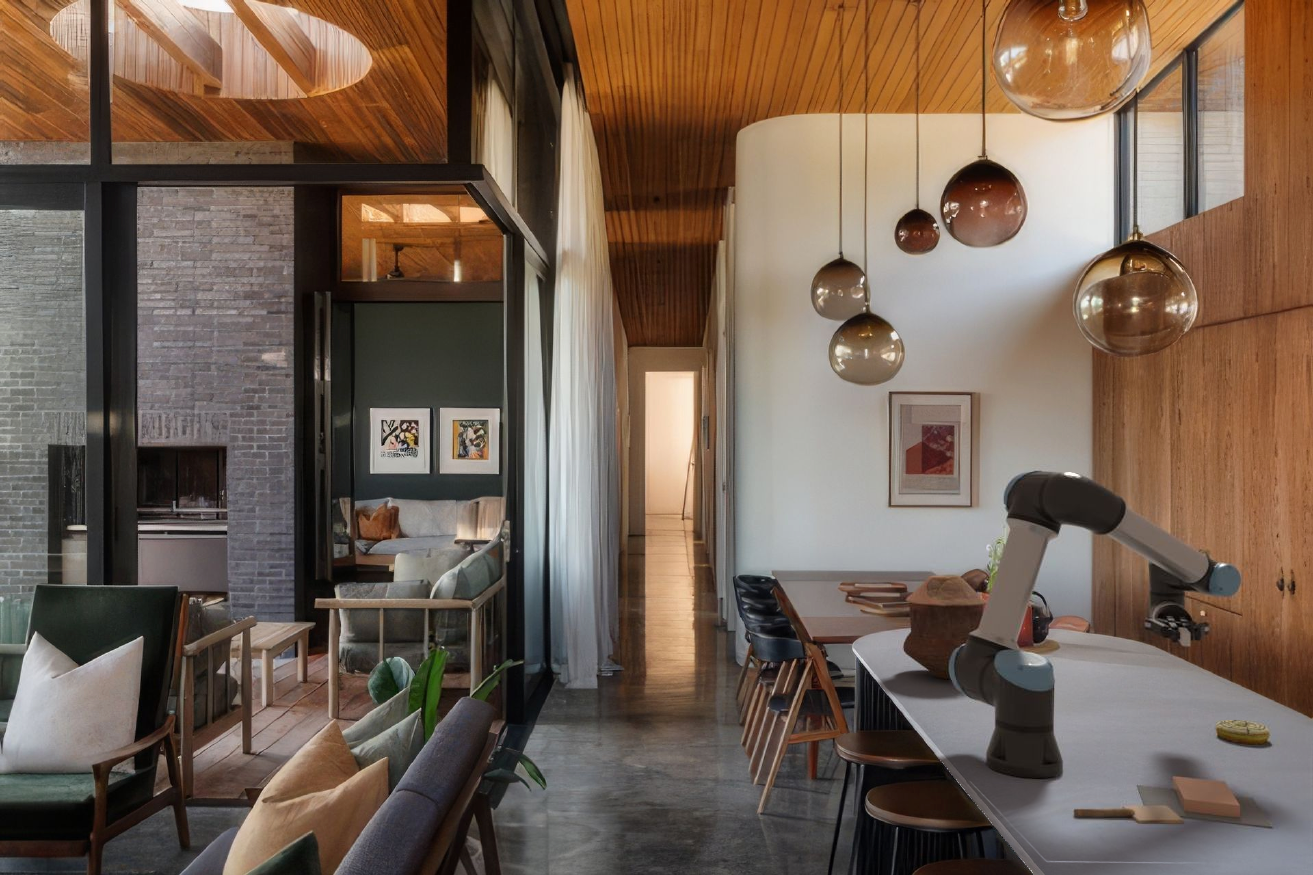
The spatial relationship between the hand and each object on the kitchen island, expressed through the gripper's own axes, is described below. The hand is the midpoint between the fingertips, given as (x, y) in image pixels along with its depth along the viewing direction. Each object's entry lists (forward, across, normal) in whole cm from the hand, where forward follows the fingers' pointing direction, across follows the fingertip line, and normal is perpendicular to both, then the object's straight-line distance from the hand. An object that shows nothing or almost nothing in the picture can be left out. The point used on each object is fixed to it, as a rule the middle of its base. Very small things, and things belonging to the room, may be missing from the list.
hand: (1186, 639), depth 205 cm
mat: (+21, 0, -28) cm, 34 cm away
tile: (+12, -1, -26) cm, 29 cm away
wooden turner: (+32, +13, -27) cm, 44 cm away
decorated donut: (-35, -16, -29) cm, 48 cm away
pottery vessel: (-75, +54, -29) cm, 97 cm away
